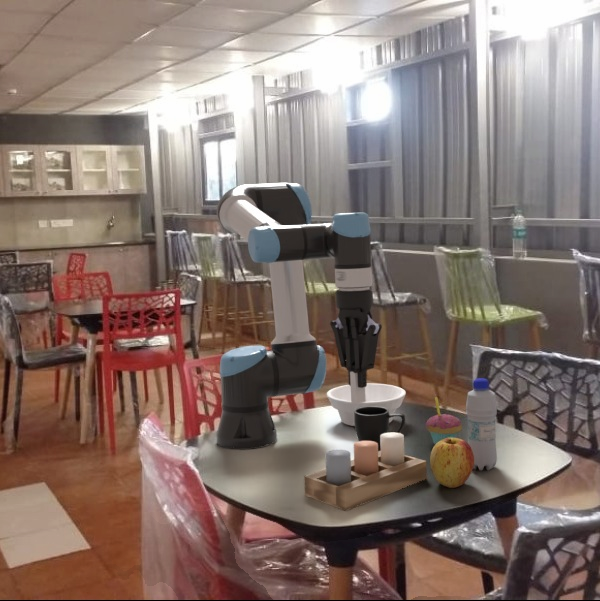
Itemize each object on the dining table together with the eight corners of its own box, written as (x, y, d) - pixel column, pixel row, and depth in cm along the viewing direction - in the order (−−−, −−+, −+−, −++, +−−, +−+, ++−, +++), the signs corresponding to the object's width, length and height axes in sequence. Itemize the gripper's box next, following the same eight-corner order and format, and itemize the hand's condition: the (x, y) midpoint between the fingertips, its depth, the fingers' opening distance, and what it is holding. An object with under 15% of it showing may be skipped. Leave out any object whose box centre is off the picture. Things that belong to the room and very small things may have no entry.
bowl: (318, 416, 228) (317, 387, 227) (390, 408, 233) (389, 380, 231) (340, 437, 207) (339, 405, 206) (418, 428, 212) (418, 397, 211)
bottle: (480, 474, 177) (479, 383, 174) (460, 465, 183) (459, 377, 180) (504, 468, 180) (503, 379, 177) (484, 460, 186) (483, 373, 183)
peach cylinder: (349, 472, 172) (348, 444, 171) (366, 466, 175) (365, 439, 174) (366, 478, 168) (366, 449, 167) (383, 471, 171) (382, 444, 170)
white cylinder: (376, 463, 177) (375, 436, 176) (391, 457, 180) (391, 431, 179) (393, 468, 173) (392, 440, 172) (409, 462, 176) (408, 435, 175)
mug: (402, 456, 190) (401, 416, 189) (351, 453, 194) (350, 414, 192) (408, 445, 198) (407, 407, 197) (359, 443, 202) (358, 405, 200)
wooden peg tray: (304, 495, 168) (304, 476, 168) (385, 466, 184) (384, 449, 183) (346, 510, 159) (345, 490, 159) (426, 479, 175) (426, 460, 174)
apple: (481, 490, 168) (481, 442, 166) (439, 494, 166) (439, 446, 165) (463, 475, 177) (463, 430, 175) (423, 480, 175) (422, 434, 173)
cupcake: (422, 447, 197) (421, 398, 195) (430, 436, 205) (430, 389, 203) (458, 450, 194) (457, 400, 192) (465, 439, 201) (464, 391, 200)
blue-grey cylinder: (321, 482, 166) (320, 453, 166) (339, 476, 170) (338, 447, 169) (338, 488, 163) (337, 459, 162) (356, 481, 166) (355, 453, 165)
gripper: (318, 289, 170) (323, 401, 173) (363, 291, 160) (368, 410, 163) (345, 285, 175) (349, 394, 177) (389, 288, 165) (394, 403, 167)
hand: (358, 402), depth 170 cm, fingers closed
